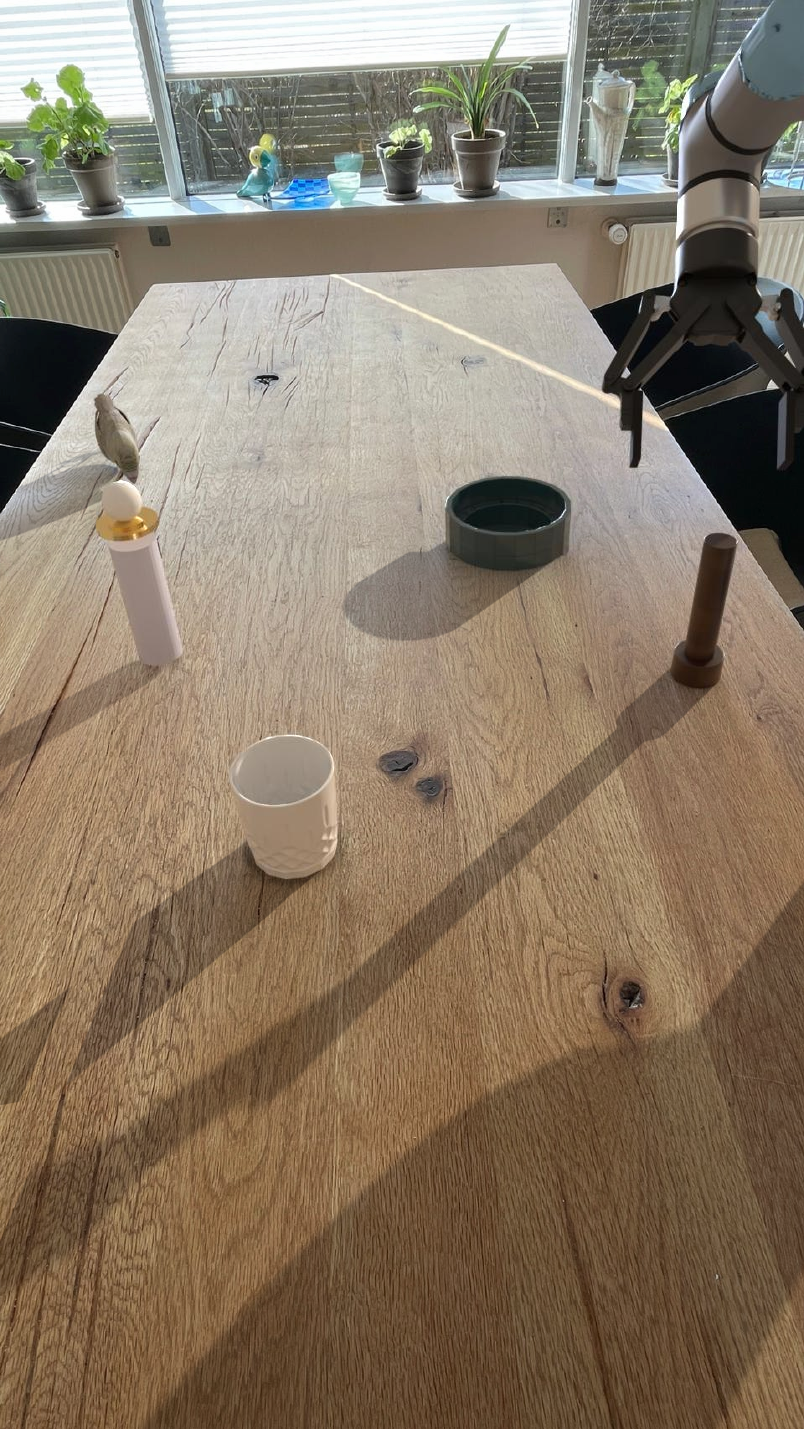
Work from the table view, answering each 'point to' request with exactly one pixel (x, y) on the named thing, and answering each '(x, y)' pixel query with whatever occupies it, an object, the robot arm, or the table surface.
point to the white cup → (287, 804)
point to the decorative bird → (116, 437)
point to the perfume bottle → (140, 573)
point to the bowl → (508, 523)
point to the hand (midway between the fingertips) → (709, 464)
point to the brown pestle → (706, 616)
